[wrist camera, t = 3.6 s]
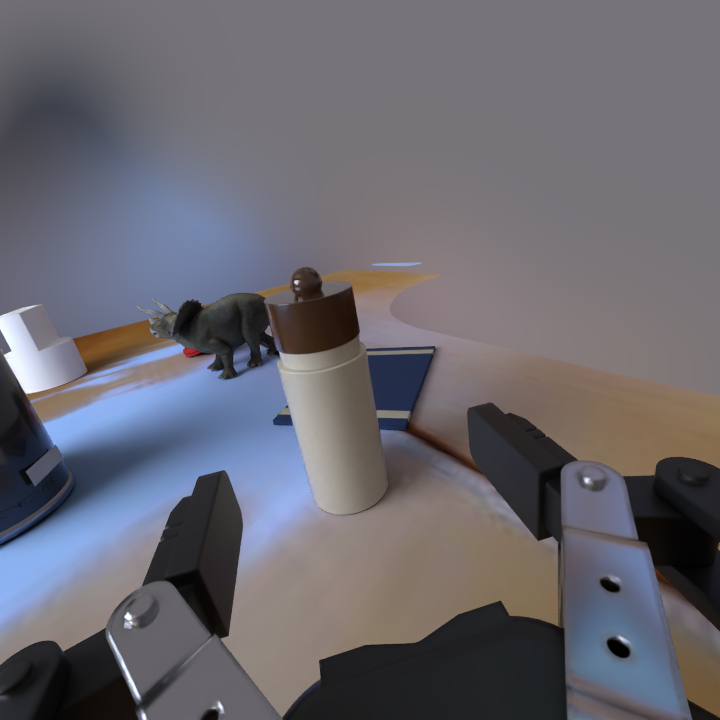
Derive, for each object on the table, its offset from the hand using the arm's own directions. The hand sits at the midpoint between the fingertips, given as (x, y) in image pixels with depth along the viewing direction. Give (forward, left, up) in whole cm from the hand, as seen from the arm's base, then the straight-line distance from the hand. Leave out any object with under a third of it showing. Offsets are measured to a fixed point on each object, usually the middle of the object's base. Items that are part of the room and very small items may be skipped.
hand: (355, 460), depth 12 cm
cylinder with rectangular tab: (-65, +27, -10) cm, 71 cm away
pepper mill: (-6, +10, -10) cm, 15 cm away
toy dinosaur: (-30, +32, -10) cm, 44 cm away
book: (-10, +26, -10) cm, 29 cm away
